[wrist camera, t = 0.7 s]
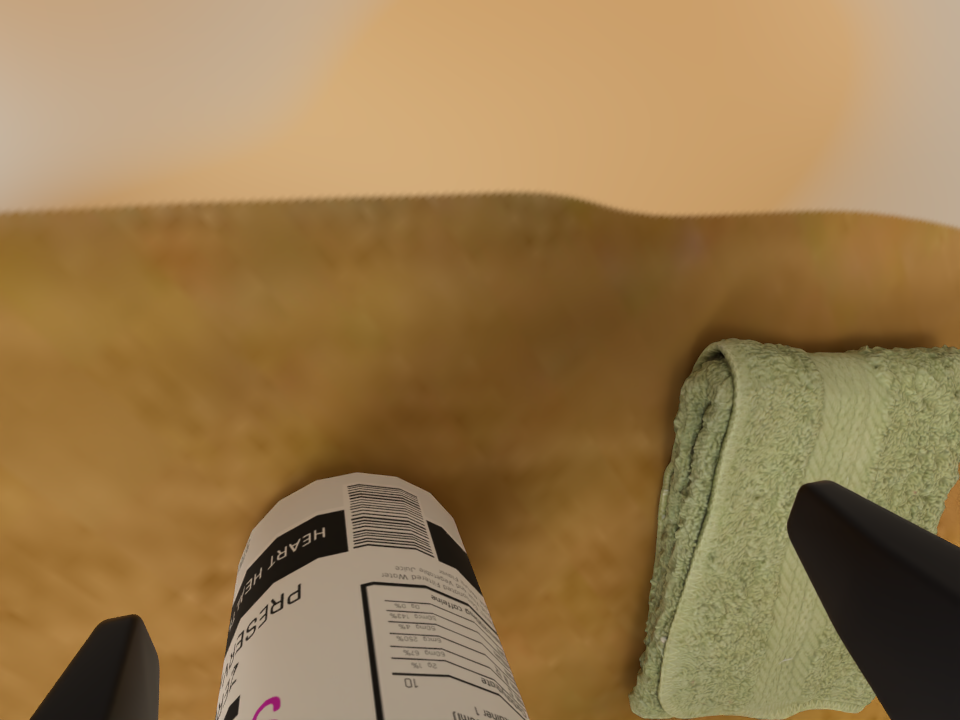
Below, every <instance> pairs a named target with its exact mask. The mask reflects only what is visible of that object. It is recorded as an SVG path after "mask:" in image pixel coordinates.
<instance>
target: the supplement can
mask: <svg viewBox="0 0 960 720" xmlns="http://www.w3.org/2000/svg"><path fill="white" fill-rule="evenodd" d="M215 720H529V717H528V714H527V712H526V709H525V706H524V704H523V701H522V698H521V696H520V693H519V690H518V688H517V685H516V683H515V680H514V677H513V675H512V672H511V669H510V667H509V664H508V661H507V659H506V656H505V653H504V651H503V648H502V646H501V643H500V640H499V638H498V635H497V632H496V630H495V627H494V624H493V622H492V619H491V617H490V614H489V611H488V609H487V606H486V603H485V601H484V598H483V595H482V593H481V590H480V587H479V585H478V582H477V580H476V577H475V574H474V572H473V569H472V566H471V564H470V561H469V558H468V556H467V553H466V550H465V548H464V545H463V543H462V540H461V537H460V535H459V532H458V529H457V527H456V524H455V521H454V519H453V517H452V516H451V515H450V514H449V513H448V512H447V511H446V510H445V509H444V508H443V506H442V505H441V504H440V503H439V502H438V501H437V500H436V499H435V498H434V497H433V496H432V494H431V493H429V492H427V491H425V490H423V489H421V488H419V487H417V486H415V485H413V484H411V483H408V482H406V481H404V480H402V479H400V478H398V477H394V476H385V475H376V474H367V473H359V472H356V473H351V474H346V475H341V476H336V477H331V478H326V479H321V480H316V481H314V482H312V483H311V484H309V485H307V486H305V487H303V488H301V489H300V490H298V491H296V492H294V493H292V494H291V495H289V496H287V497H285V498H283V499H282V500H280V501H279V502H278V503H277V504H276V505H275V506H274V507H273V508H272V509H271V510H270V511H269V512H268V514H267V515H266V516H265V517H264V518H263V519H262V520H261V521H260V522H259V523H258V525H257V526H256V527H255V528H254V529H253V530H252V532H251V535H250V537H249V540H248V542H247V545H246V547H245V550H244V553H243V555H242V558H241V560H240V563H239V566H238V573H237V579H236V586H235V593H234V599H233V606H232V612H231V619H230V626H229V632H228V639H227V646H226V652H225V659H224V666H223V672H222V679H221V685H220V692H219V699H218V705H217V712H216V719H215Z"/></svg>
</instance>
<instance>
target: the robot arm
mask: <svg viewBox="0 0 960 720" xmlns="http://www.w3.org/2000/svg"><path fill="white" fill-rule="evenodd" d="M787 532H788V536H789V539H790V541H791V543H792V545H793V547H794V549H795V551H796V553H797V555H798V557H799V559H800V561H801V563H802V565H803V567H804V569H805V571H806V573H807V575H808V577H809V579H810V581H811V583H812V585H813V587H814V589H815V591H816V593H817V595H818V597H819V599H820V601H821V603H822V605H823V607H824V609H825V611H826V613H827V615H828V617H829V619H830V621H831V623H832V624H833V626H834V628H835V630H836V632H837V634H838V635H839V637H840V639H841V640H842V642H843V644H844V645H845V647H846V649H847V650H848V652H849V654H850V655H851V657H852V658H853V660H854V662H855V663H856V665H857V666H858V668H859V669H860V671H861V673H862V674H863V676H864V677H865V679H866V681H867V682H868V684H869V685H870V687H871V689H872V690H873V692H874V693H875V695H876V696H877V698H878V700H879V701H880V703H881V704H882V706H883V708H884V709H885V711H886V712H887V714H888V716H889V717H890V719H891V720H960V548H959V547H958V546H956V545H954V544H952V543H950V542H948V541H946V540H944V539H942V538H940V537H938V536H937V535H935V534H933V533H931V532H929V531H927V530H925V529H923V528H921V527H919V526H918V525H916V524H914V523H912V522H910V521H908V520H906V519H904V518H902V517H900V516H899V515H897V514H895V513H893V512H891V511H889V510H887V509H885V508H883V507H881V506H880V505H878V504H876V503H874V502H872V501H870V500H868V499H866V498H864V497H862V496H860V495H859V494H857V493H855V492H853V491H851V490H849V489H847V488H845V487H843V486H841V485H840V484H838V483H836V482H833V481H830V480H821V481H816V482H811V483H806V484H804V485H802V486H801V487H800V488H799V490H798V492H797V495H796V498H795V501H794V504H793V506H792V509H791V512H790V515H789V518H788V521H787ZM158 705H159V660H158V655H157V652H156V650H155V647H154V645H153V643H152V641H151V638H150V636H149V634H148V632H147V629H146V627H145V625H144V623H143V621H142V619H141V618H140V617H139V616H138V615H136V614H134V615H133V614H132V615H127V616H121V617H116V618H111V619H107V620H104V621H102V622H101V623H100V624H99V625H98V626H97V627H96V628H95V629H94V631H93V632H92V633H91V635H90V636H89V638H88V639H87V640H86V642H85V643H84V645H83V646H82V647H81V649H80V650H79V652H78V653H77V654H76V656H75V657H74V659H73V660H72V661H71V663H70V664H69V665H68V667H67V668H66V670H65V671H64V672H63V674H62V675H61V677H60V678H59V679H58V681H57V682H56V684H55V685H54V686H53V688H52V689H51V691H50V692H49V693H48V695H47V696H46V697H45V699H44V700H43V702H42V703H41V704H40V706H39V707H38V709H37V710H36V711H35V713H34V714H33V716H32V717H31V718H30V720H158Z"/></svg>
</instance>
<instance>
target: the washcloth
mask: <svg viewBox="0 0 960 720" xmlns="http://www.w3.org/2000/svg"><path fill="white" fill-rule="evenodd" d="M679 401H680V403H679V409H678V412H677V415H676V417H675V420H674V431H675V433H676V437H675V442H674V445H673V450H672V457H671V462H670V464H669V465H668V466H667V467H666V469H665V472H664V477H663V487H662V490H661V495H660V503H659V510H658V530H657V542H656V554H655V563H654V572H653V578H652V579H651V580H650V583H651V584H652V586H651V590H650V595H649V606H650V607H649V613H648V620H647V622H646V625H647V627H646V629H645V632H647V637H646V638H645V639H644V643H645V645H646V650H645V651H644V652H643V654H642V655H641V656H640V658H639V660H640V662H641V663H640V666H641V669H640V670H639V671H638V676H637V685H636V686H635V687H633V691H632V692H630V693H629V695H628V696H629V700H630V707H631V710H632V712H633V713H635V714H637V715H638V716H640V717H642V718H649V719H666V718H672V717H675V718H681V719H691V718H697V717H705V716H716V715H735V716H746V717H751V718H757V719H768V720H774V719H775V720H781V719H786V718H788V717H790V716H792V715H794V714H797V713H799V712H802V711H805V710H810V709H831V710H838V711H843V712H848V713H858V712H860V711H862V710H863V708H864V707H865V706H866V705H868V704H870V703H871V701H872V700H873V699H874V698H875V696H876V695H875V693H874V692H873V690H872V689H871V687H870V685H869V684H868V682H867V681H866V679H865V677H864V676H863V674H862V673H861V671H860V669H859V668H858V666H857V665H856V663H855V662H854V660H853V658H852V657H851V655H850V654H849V652H848V650H847V649H846V647H845V645H844V644H843V642H842V640H841V639H840V637H839V635H838V634H837V632H836V630H835V628H834V626H833V624H832V623H831V621H830V619H829V617H828V615H827V613H826V611H825V609H824V607H823V605H822V603H821V601H820V599H819V597H818V595H817V593H816V591H815V589H814V587H813V585H812V583H811V581H810V579H809V577H808V575H807V573H806V571H805V569H804V567H803V565H802V563H801V561H800V559H799V557H798V555H797V553H796V551H795V549H794V547H793V545H792V543H791V541H790V539H789V536H788V532H787V521H788V518H789V515H790V512H791V509H792V506H793V504H794V501H795V498H796V495H797V492H798V490H799V488H800V487H801V486H802V485H804V484H806V483H811V482H816V481H821V480H830V481H833V482H836V483H838V484H840V485H841V486H843V487H845V488H847V489H849V490H851V491H853V492H855V493H857V494H859V495H860V496H862V497H864V498H866V499H868V500H870V501H872V502H874V503H876V504H878V505H880V506H881V507H883V508H885V509H887V510H889V511H891V512H893V513H895V514H897V515H899V516H900V517H902V518H904V519H906V520H908V521H910V522H912V523H914V524H916V525H918V526H919V527H921V528H923V529H925V530H927V531H929V532H931V533H933V534H935V535H936V534H937V525H938V523H939V520H940V517H941V515H942V513H943V511H944V509H945V505H944V501H945V500H946V499H947V494H948V493H949V492H950V489H951V488H952V487H953V486H954V485H955V484H956V482H957V480H958V479H959V473H958V464H959V462H960V349H959V350H958V349H957V348H955V347H949V348H948V347H947V346H946V345H943V347H942V348H938V347H933V348H930V349H929V348H924V347H917V348H910V349H905V348H898V347H894V348H893V350H891V349H885V348H882V347H877V346H875V347H874V348H873V349H871V348H868V346H867V345H866V346H865V347H861V348H860V349H859V350H848V351H846V352H844V353H837V352H836V353H829V352H816V353H807V352H805V351H804V350H802V349H799V348H794V347H793V348H792V347H790V346H788V345H785V346H783V345H781V344H776V345H773V344H771V343H765V344H761V343H759V342H757V341H753V340H750V339H748V340H739V339H737V338H730V339H727V340H725V339H722V340H721V341H720V342H714V343H711V344H710V345H709V346H708V347H706V348H705V349H704V350H703V352H702V353H701V355H700V356H699V358H698V360H697V362H696V363H695V365H694V367H693V370H692V372H691V375H690V376H689V377H688V378H686V380H685V382H684V384H683V386H682V388H681V394H680V397H679Z"/></svg>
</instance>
